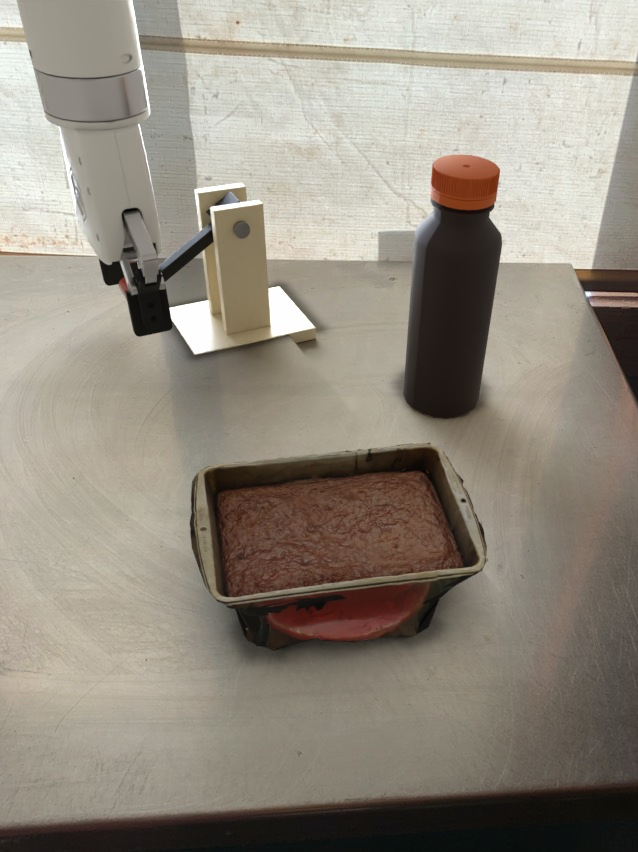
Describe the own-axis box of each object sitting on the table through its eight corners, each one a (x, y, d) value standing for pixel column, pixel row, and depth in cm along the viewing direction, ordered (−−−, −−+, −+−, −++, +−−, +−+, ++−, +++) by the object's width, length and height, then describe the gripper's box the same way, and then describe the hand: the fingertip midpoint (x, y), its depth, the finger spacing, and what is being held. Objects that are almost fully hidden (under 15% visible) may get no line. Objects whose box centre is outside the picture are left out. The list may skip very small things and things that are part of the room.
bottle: (457, 371, 74) (486, 146, 60) (491, 412, 70) (530, 179, 56) (391, 384, 72) (404, 153, 58) (421, 427, 68) (444, 189, 53)
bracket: (196, 366, 72) (176, 227, 63) (166, 319, 77) (143, 186, 68) (316, 338, 77) (313, 206, 68) (280, 296, 82) (273, 168, 73)
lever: (145, 324, 69) (126, 305, 67) (129, 298, 72) (111, 279, 70) (260, 228, 69) (245, 207, 67) (240, 206, 72) (224, 185, 70)
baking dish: (464, 680, 52) (507, 567, 46) (182, 680, 47) (187, 555, 41) (423, 537, 62) (453, 431, 56) (190, 526, 58) (195, 409, 52)
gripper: (17, 65, 62) (71, 272, 74) (68, 136, 51) (121, 364, 63) (114, 57, 65) (151, 258, 77) (181, 123, 54) (211, 344, 66)
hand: (137, 305), depth 70 cm, fingers open, 9 cm apart
